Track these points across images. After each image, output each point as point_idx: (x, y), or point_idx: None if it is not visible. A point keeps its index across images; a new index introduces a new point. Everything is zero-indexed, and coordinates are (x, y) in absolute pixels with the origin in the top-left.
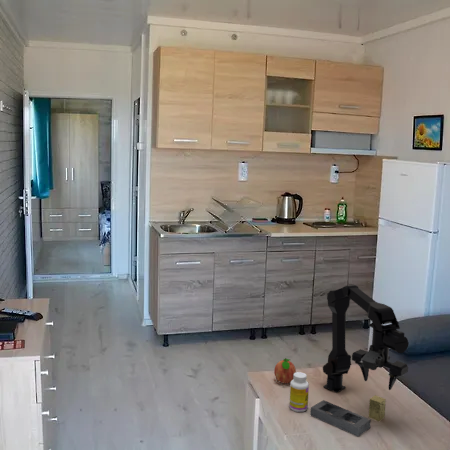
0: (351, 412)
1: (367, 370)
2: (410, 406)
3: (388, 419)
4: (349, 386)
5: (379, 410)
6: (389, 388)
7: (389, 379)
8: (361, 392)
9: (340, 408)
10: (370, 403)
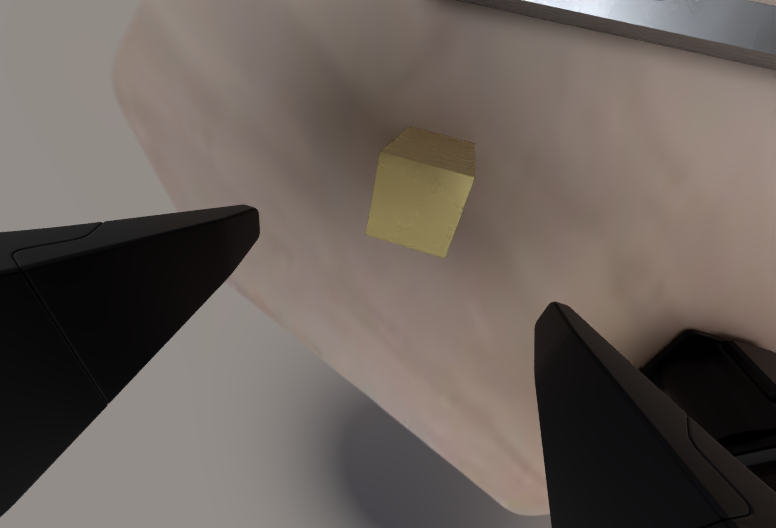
0: (618, 2)
1: (572, 466)
2: (337, 323)
3: (373, 180)
4: None
5: (396, 139)
6: (231, 208)
7: (88, 250)
8: None
9: (745, 13)
10: (465, 165)
